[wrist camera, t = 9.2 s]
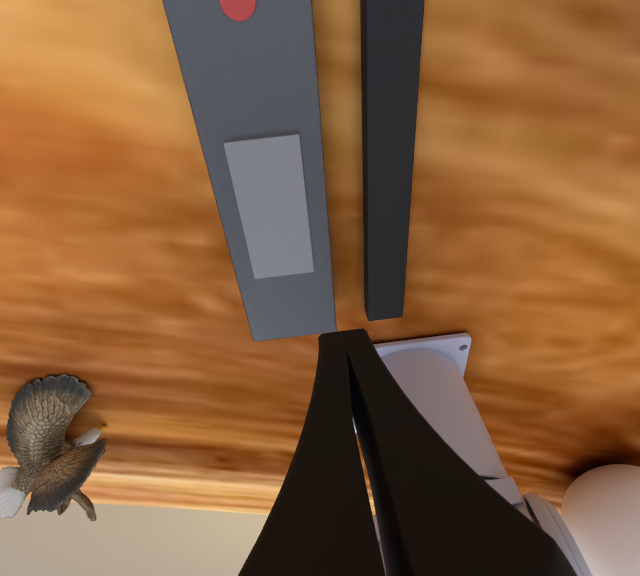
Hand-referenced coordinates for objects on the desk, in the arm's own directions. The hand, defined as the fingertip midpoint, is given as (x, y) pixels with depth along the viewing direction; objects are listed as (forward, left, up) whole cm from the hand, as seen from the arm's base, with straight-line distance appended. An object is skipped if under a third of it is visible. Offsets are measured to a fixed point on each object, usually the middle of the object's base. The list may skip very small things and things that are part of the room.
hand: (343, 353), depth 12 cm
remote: (+2, +2, -9) cm, 10 cm away
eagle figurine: (-14, +18, -10) cm, 25 cm away
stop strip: (+2, -3, -9) cm, 10 cm away
